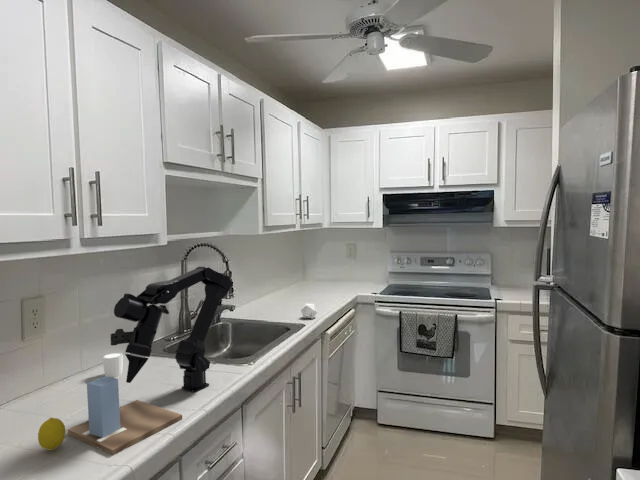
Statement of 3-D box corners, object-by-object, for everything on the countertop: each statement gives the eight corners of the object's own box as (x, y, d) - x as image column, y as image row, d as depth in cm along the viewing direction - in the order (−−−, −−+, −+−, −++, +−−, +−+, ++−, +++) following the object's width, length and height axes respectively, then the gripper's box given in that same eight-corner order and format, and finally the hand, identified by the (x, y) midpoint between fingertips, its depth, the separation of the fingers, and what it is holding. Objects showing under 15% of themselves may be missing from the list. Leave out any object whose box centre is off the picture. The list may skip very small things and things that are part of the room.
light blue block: (107, 424, 109) (104, 376, 108) (120, 428, 106) (117, 378, 106) (89, 433, 104) (86, 383, 103) (103, 437, 102) (100, 386, 101)
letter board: (137, 403, 124) (137, 399, 124) (182, 418, 114) (182, 414, 113) (67, 433, 107) (67, 428, 107) (113, 455, 97) (112, 449, 97)
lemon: (71, 443, 102) (69, 412, 102) (57, 456, 97) (55, 423, 96) (48, 444, 102) (46, 413, 102) (33, 457, 97) (31, 424, 96)
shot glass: (105, 379, 144) (104, 360, 144) (100, 374, 150) (99, 355, 149) (126, 374, 149) (125, 355, 149) (120, 369, 154) (120, 351, 154)
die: (306, 321, 222) (317, 307, 222) (295, 312, 226) (305, 298, 226) (312, 323, 229) (322, 309, 229) (301, 314, 233) (311, 300, 233)
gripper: (119, 321, 126) (100, 374, 120) (116, 316, 109) (93, 377, 104) (157, 329, 129) (140, 381, 124) (159, 326, 112) (140, 386, 107)
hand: (128, 381), depth 114 cm, fingers open, 9 cm apart
